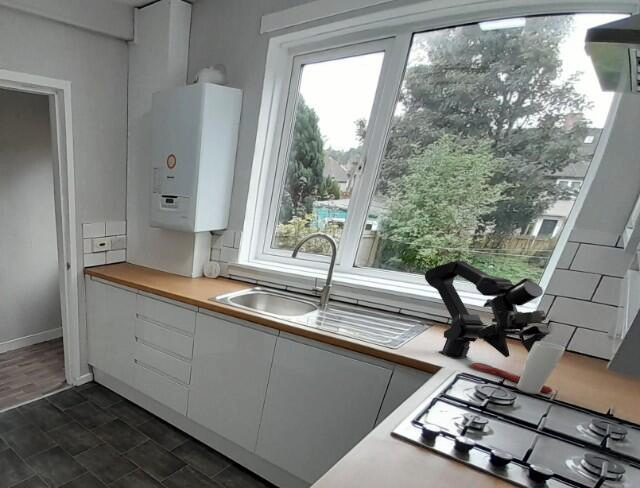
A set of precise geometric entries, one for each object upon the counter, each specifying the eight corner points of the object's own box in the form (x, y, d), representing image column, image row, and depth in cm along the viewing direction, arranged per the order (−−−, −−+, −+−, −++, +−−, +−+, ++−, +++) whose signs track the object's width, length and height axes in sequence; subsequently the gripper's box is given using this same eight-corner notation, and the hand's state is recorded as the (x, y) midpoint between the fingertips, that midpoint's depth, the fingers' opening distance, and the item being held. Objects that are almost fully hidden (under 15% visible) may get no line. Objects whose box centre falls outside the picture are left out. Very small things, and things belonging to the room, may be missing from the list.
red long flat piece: (466, 366, 142) (469, 360, 141) (479, 365, 143) (481, 359, 143) (543, 395, 122) (546, 389, 121) (556, 393, 124) (559, 387, 123)
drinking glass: (524, 385, 128) (546, 341, 122) (548, 395, 122) (572, 349, 116) (506, 386, 127) (528, 341, 121) (529, 396, 121) (553, 349, 115)
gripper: (500, 298, 124) (517, 345, 119) (558, 301, 125) (578, 347, 120) (470, 316, 135) (484, 359, 129) (523, 318, 136) (540, 362, 130)
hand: (521, 357), depth 127 cm, fingers open, 9 cm apart
